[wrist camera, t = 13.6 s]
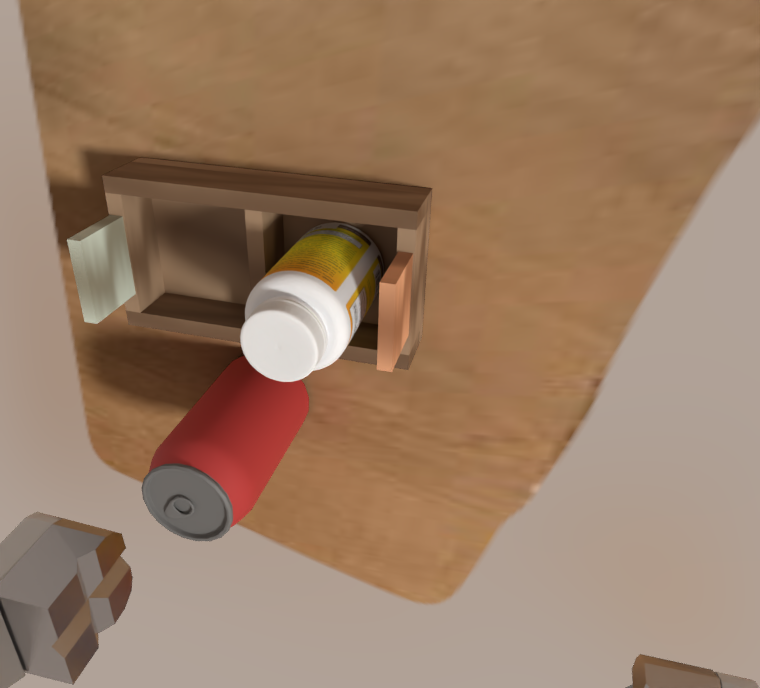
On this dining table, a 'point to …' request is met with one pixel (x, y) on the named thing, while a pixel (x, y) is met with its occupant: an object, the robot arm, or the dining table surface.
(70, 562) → the robot arm
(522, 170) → the dining table surface
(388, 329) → the wooden compartment tray
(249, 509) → the beer can
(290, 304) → the supplement bottle
